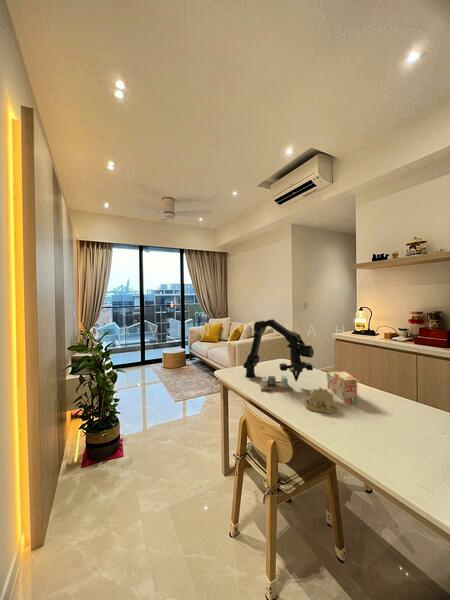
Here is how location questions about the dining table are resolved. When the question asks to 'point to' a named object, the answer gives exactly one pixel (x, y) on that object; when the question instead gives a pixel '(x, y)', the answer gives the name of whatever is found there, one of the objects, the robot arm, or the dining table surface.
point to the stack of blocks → (343, 386)
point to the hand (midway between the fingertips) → (296, 380)
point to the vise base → (266, 387)
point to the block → (271, 381)
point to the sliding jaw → (284, 381)
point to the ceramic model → (320, 401)
